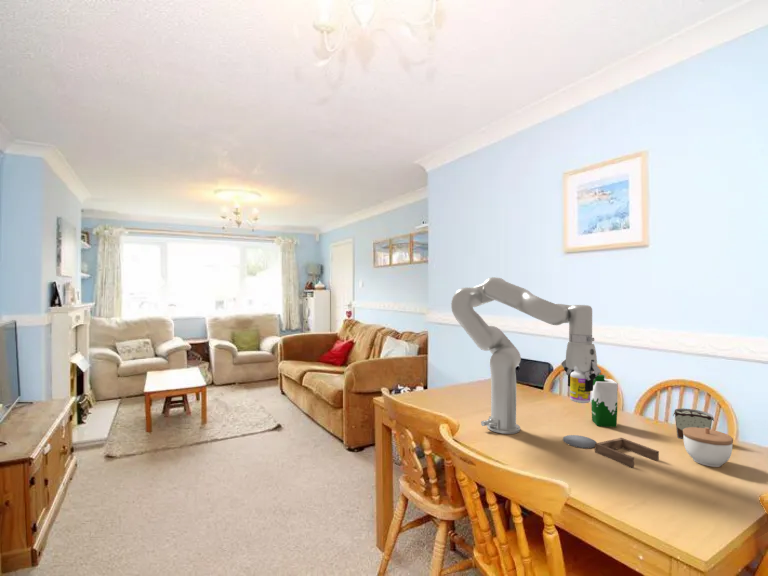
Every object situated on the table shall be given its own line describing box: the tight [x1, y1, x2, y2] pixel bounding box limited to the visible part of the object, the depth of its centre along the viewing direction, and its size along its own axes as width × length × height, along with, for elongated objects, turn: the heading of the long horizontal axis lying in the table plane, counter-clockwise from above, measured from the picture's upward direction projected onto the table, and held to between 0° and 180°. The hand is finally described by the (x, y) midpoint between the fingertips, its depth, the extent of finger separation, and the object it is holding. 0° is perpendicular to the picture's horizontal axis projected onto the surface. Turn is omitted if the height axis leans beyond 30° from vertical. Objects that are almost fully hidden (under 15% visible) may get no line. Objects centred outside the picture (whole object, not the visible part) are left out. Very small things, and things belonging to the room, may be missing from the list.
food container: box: [672, 408, 715, 440], centre depth 151 cm, size 12×6×10 cm, turn 65°
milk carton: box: [591, 373, 619, 428], centre depth 165 cm, size 9×9×20 cm
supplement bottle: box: [569, 366, 591, 404], centre depth 145 cm, size 7×7×13 cm
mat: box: [562, 434, 598, 450], centre depth 145 cm, size 11×11×1 cm
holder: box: [594, 437, 660, 469], centre depth 133 cm, size 13×13×3 cm
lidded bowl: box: [682, 427, 734, 468], centre depth 129 cm, size 13×13×11 cm
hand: (580, 388), depth 145 cm, fingers closed on supplement bottle, 6 cm apart
